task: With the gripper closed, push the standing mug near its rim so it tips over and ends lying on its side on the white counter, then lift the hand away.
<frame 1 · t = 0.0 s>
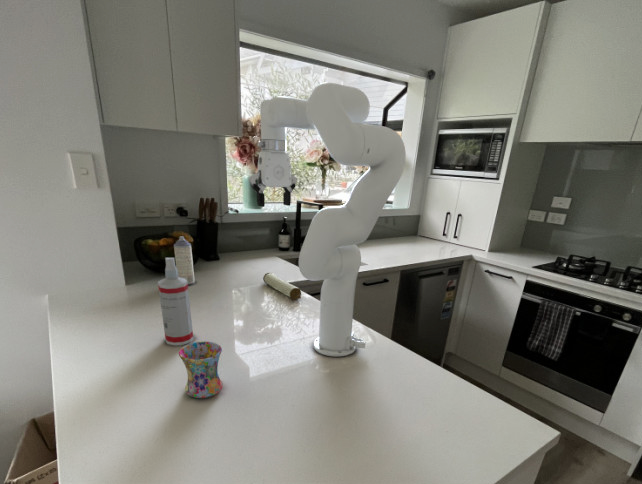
hand: (274, 205, 121), 37 cm above the counter, tool pointing down, fingers open, 9 cm apart
spray bottle: (179, 340, 113), on the counter
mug: (203, 388, 90), on the counter
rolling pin: (281, 291, 159), on the counter
aerosol can: (186, 283, 165), on the counter
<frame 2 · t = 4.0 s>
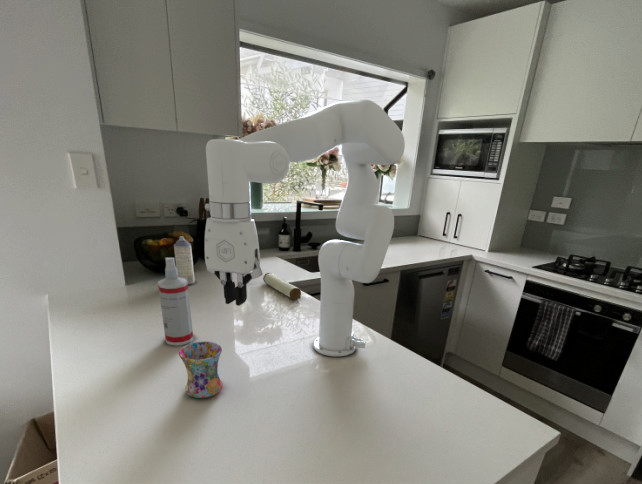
hand: (235, 302, 78), 23 cm above the counter, tool pointing down, fingers closed
nothing on the counter moved.
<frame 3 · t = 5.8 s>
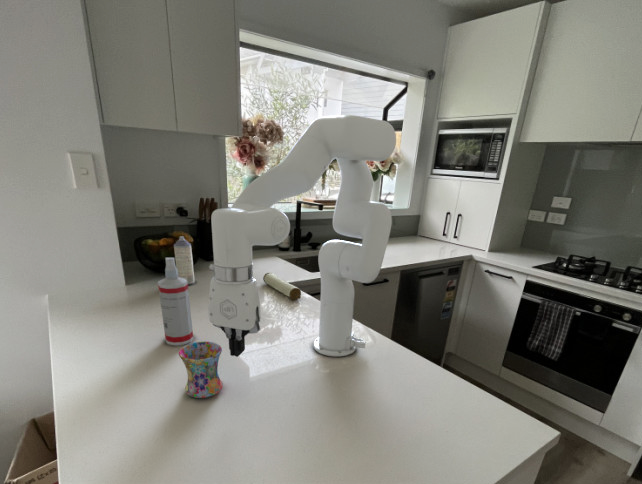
hand: (237, 353, 83), 11 cm above the counter, tool pointing down, fingers closed
nothing on the counter moved.
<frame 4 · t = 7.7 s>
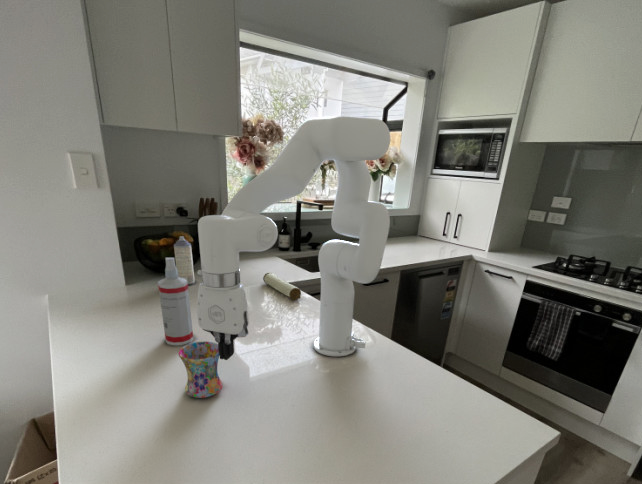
hand: (226, 356, 84), 10 cm above the counter, tool pointing down, fingers closed
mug: (203, 388, 90), on the counter, touching gripper
everything else where it was.
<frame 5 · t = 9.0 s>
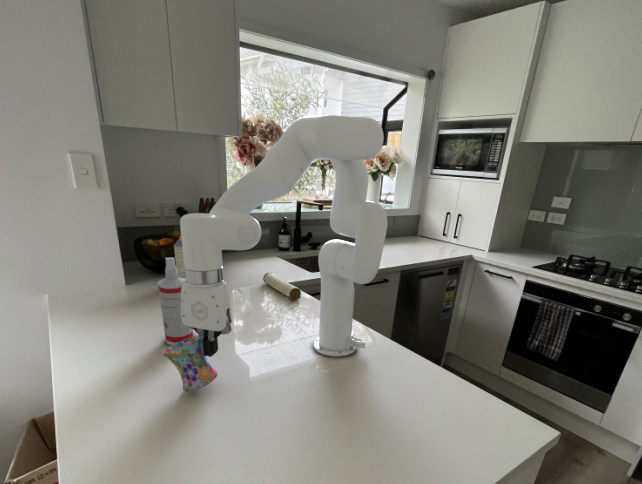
hand: (210, 353, 85), 10 cm above the counter, tool pointing down, fingers closed
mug: (201, 383, 89), point 1 cm above the counter, touching gripper
everything else where it was.
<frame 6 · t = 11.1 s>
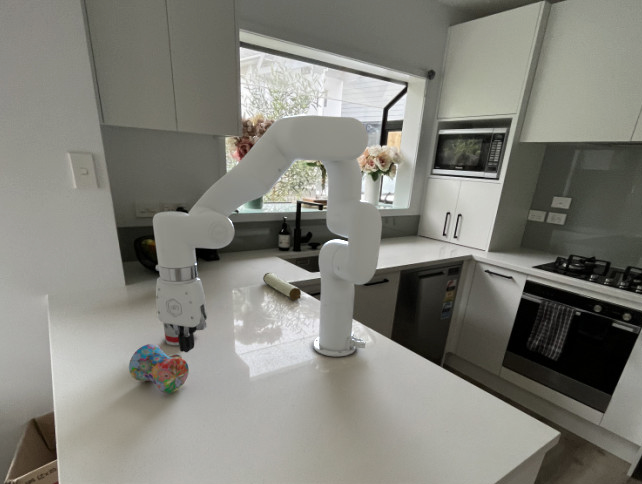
hand: (187, 349, 87), 10 cm above the counter, tool pointing down, fingers closed
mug: (181, 375, 87), point 4 cm above the counter
everything else where it was.
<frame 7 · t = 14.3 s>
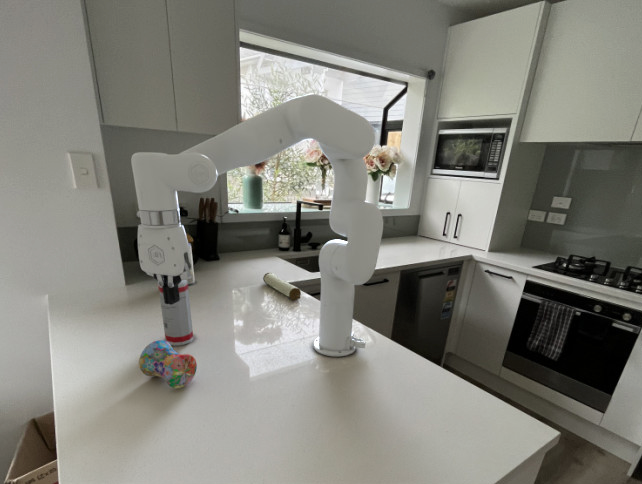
hand: (172, 302, 84), 21 cm above the counter, tool pointing down, fingers closed
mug: (189, 373, 89), point 3 cm above the counter
everything else where it was.
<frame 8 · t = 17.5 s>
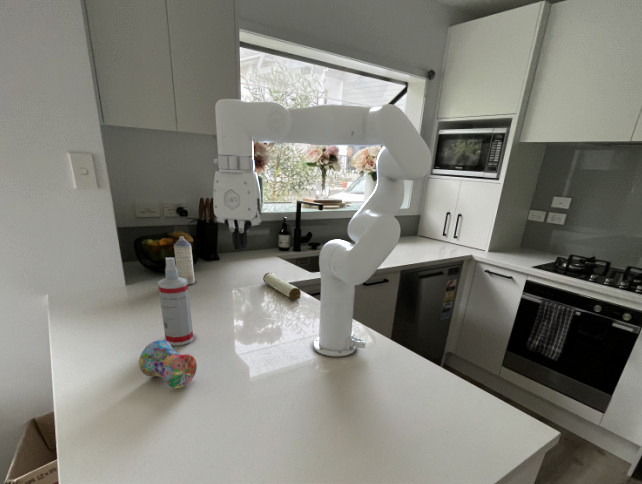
hand: (240, 248, 89), 31 cm above the counter, tool pointing down, fingers closed
nothing on the counter moved.
at the end: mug tilted 88°; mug moved 4.6 cm from its start; the gripper is holding nothing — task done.
